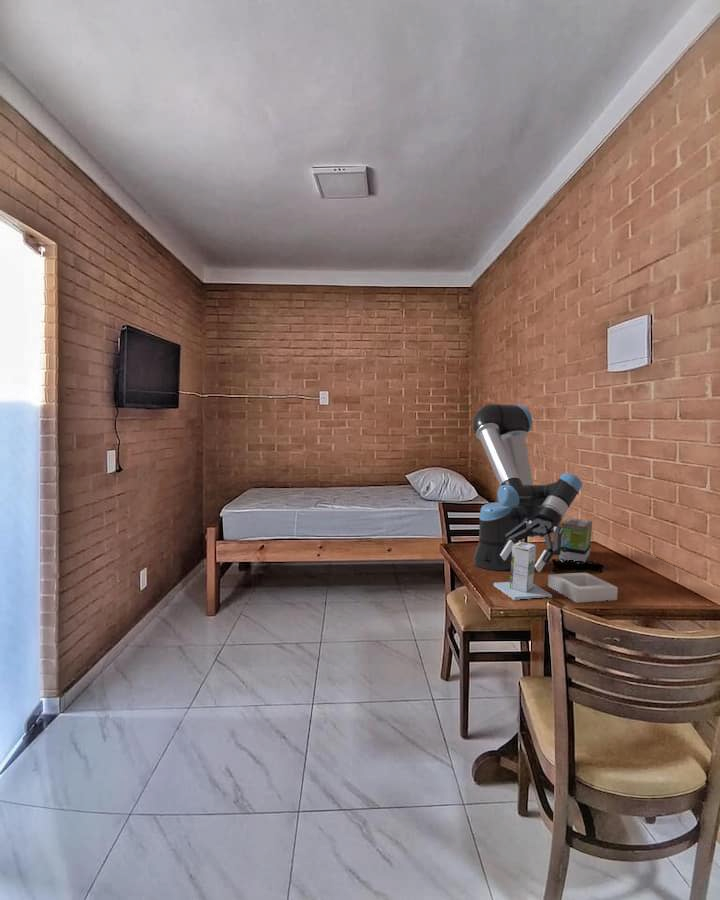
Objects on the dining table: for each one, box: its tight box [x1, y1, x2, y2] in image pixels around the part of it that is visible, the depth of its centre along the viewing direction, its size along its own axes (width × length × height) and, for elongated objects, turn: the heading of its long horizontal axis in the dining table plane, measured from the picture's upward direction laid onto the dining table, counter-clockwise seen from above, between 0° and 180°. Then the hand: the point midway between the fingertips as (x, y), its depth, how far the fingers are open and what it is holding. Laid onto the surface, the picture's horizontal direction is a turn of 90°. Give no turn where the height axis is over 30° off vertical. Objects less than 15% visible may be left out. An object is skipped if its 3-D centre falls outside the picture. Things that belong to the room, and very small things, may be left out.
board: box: [493, 581, 553, 601], centre depth 156 cm, size 13×13×1 cm
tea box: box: [558, 517, 593, 563], centre depth 198 cm, size 15×10×15 cm, turn 148°
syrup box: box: [509, 541, 537, 592], centre depth 156 cm, size 6×6×14 cm
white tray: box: [547, 572, 619, 604], centre depth 157 cm, size 14×14×4 cm
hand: (519, 563), depth 155 cm, fingers open, 13 cm apart
